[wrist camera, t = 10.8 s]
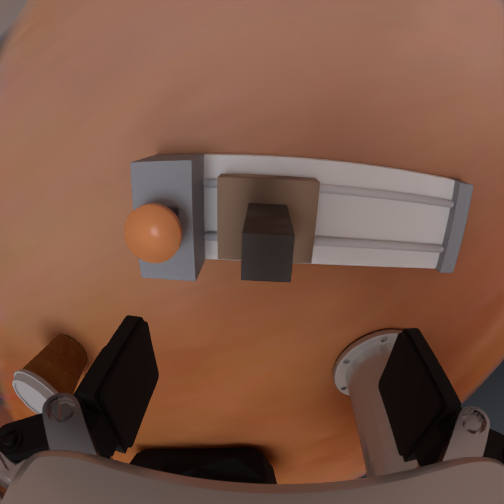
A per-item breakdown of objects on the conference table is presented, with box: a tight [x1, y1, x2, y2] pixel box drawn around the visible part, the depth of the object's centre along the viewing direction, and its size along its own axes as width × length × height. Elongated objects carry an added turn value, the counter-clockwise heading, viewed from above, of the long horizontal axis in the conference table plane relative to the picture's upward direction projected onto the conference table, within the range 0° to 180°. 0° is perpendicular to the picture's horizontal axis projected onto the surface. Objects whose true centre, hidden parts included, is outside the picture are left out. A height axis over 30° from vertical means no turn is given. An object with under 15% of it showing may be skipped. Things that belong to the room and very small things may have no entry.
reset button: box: [124, 203, 183, 263], centre depth 21 cm, size 4×4×2 cm
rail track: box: [130, 154, 473, 281], centre depth 25 cm, size 32×10×6 cm, turn 88°
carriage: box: [217, 174, 320, 282], centre depth 21 cm, size 8×7×9 cm
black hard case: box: [130, 448, 277, 484], centre depth 39 cm, size 30×12×20 cm, turn 108°
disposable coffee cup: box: [12, 335, 87, 414], centre depth 32 cm, size 10×10×12 cm
